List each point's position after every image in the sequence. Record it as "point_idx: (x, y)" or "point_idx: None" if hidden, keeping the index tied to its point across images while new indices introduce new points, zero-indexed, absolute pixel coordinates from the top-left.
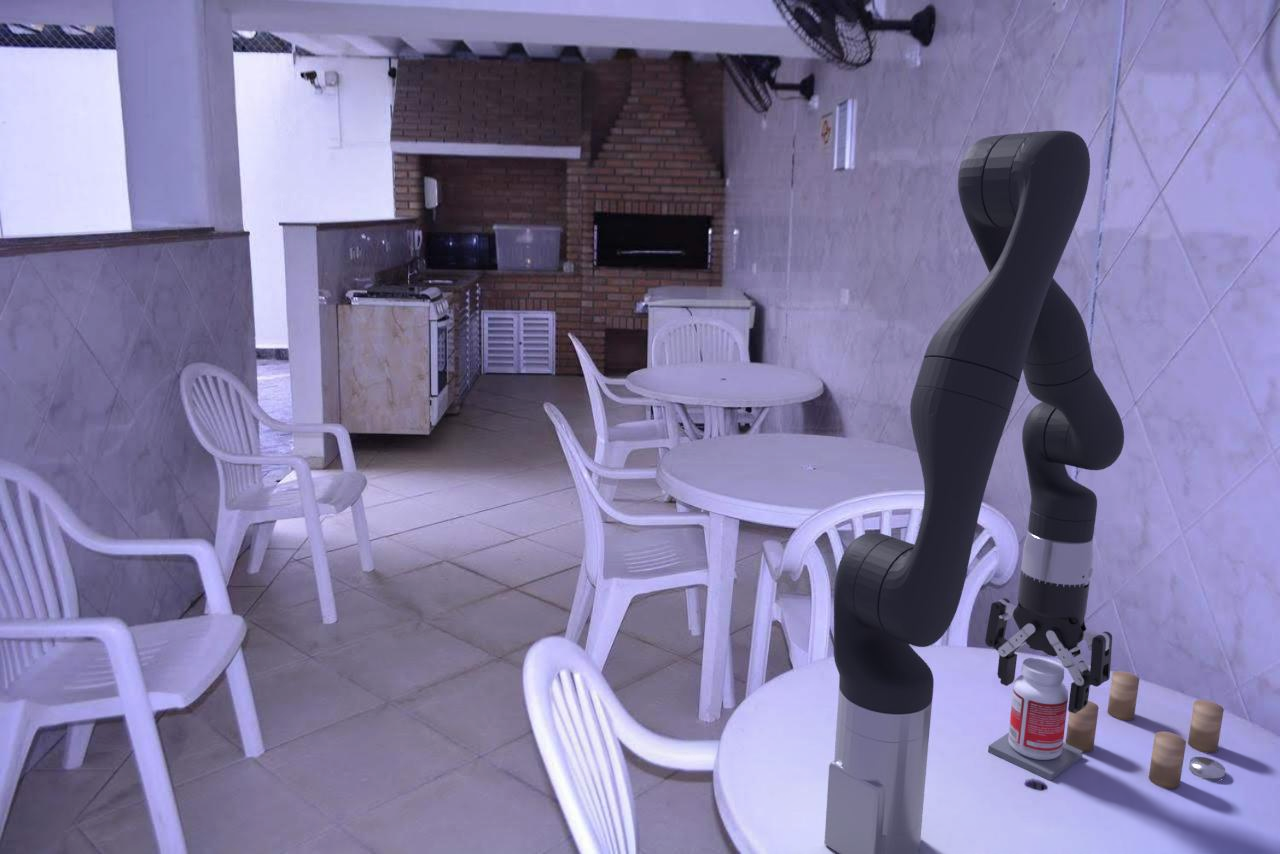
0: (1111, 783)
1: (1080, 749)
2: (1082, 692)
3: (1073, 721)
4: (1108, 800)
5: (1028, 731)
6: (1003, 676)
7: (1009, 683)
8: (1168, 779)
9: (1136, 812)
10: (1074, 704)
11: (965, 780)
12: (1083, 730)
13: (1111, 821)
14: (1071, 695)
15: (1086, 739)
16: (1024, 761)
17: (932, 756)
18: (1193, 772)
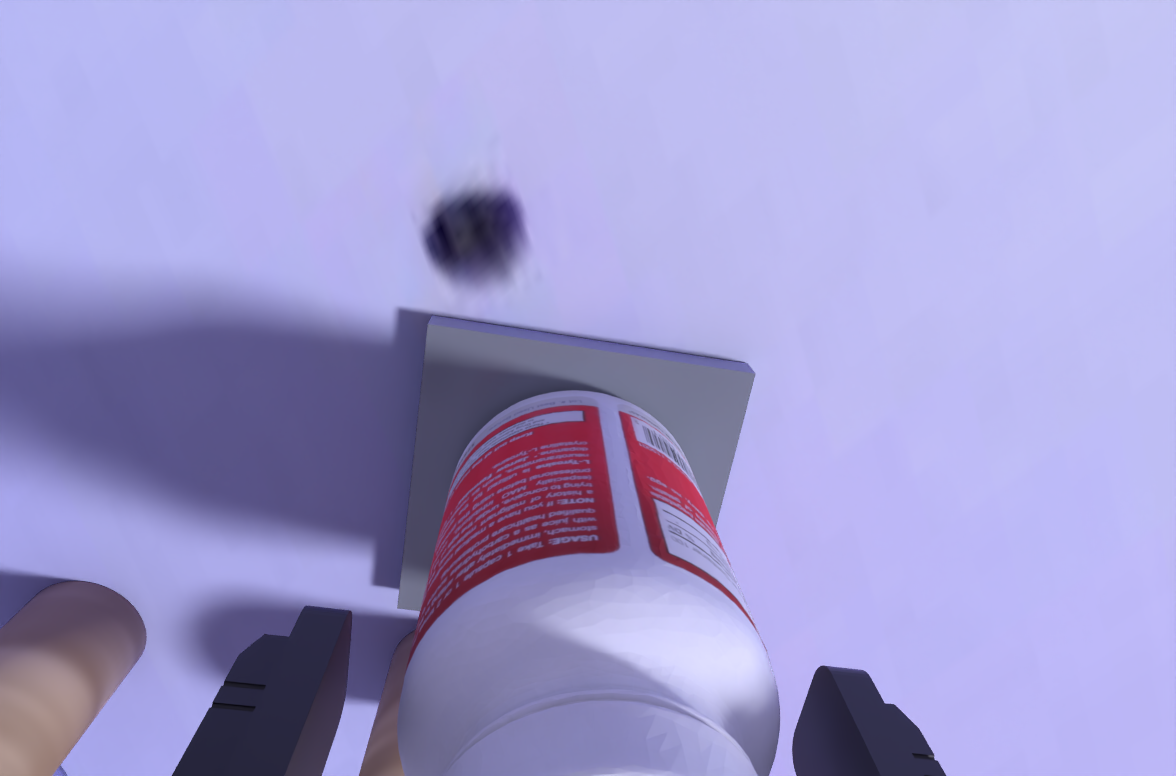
0: (228, 475)
1: None
2: (197, 756)
3: None
4: (178, 333)
5: (582, 444)
6: (870, 709)
7: (807, 705)
8: (24, 612)
9: (49, 321)
10: (286, 648)
11: (763, 22)
12: None
13: (88, 164)
14: (297, 697)
15: (399, 675)
16: (570, 351)
17: (967, 133)
18: None
